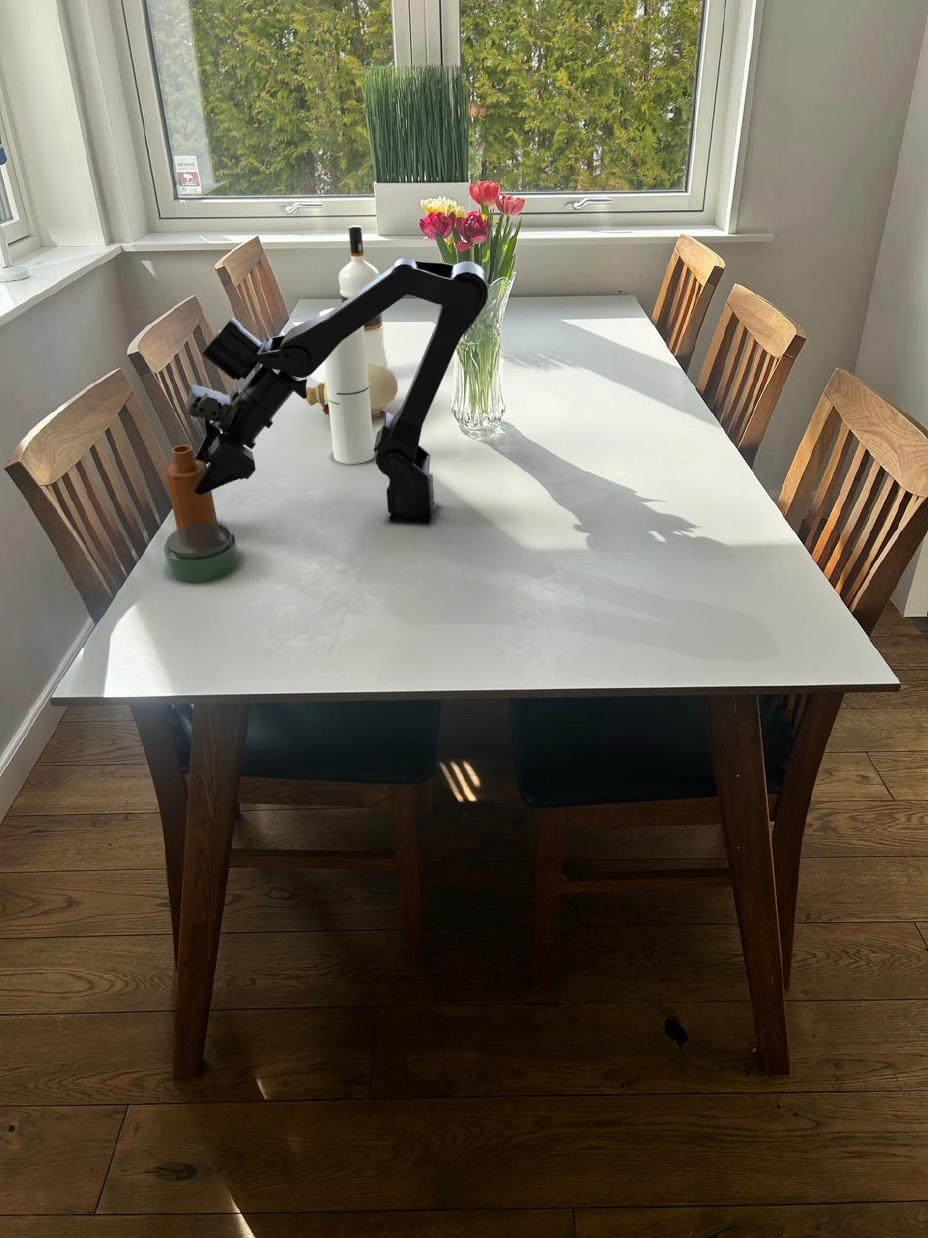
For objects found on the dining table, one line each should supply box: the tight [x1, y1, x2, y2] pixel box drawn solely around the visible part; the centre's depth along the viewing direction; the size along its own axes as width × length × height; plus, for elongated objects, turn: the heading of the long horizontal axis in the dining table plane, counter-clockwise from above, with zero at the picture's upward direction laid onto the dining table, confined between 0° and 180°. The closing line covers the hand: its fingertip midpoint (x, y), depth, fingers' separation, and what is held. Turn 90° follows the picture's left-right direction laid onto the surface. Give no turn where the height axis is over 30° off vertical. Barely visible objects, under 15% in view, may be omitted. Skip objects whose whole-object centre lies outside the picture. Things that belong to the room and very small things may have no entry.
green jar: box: [163, 523, 240, 584], centre depth 136 cm, size 10×10×4 cm
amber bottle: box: [164, 444, 219, 531], centre depth 142 cm, size 6×6×14 cm
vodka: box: [338, 225, 389, 370], centre depth 195 cm, size 9×9×30 cm
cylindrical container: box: [318, 307, 375, 465], centre depth 161 cm, size 7×7×25 cm
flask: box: [305, 364, 399, 419], centre depth 182 cm, size 9×16×18 cm
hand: (195, 480), depth 141 cm, fingers open, 9 cm apart
